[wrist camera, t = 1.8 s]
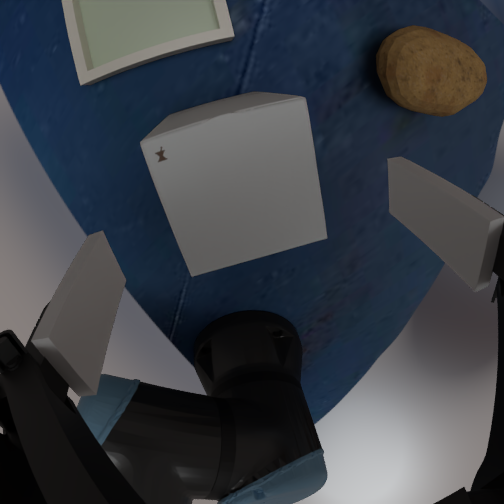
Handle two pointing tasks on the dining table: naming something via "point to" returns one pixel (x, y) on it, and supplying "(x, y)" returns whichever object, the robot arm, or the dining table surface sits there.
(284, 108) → the supplement box
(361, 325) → the dining table surface
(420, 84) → the potato
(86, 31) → the shallow square tray
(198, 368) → the robot arm
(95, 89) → the dining table surface
